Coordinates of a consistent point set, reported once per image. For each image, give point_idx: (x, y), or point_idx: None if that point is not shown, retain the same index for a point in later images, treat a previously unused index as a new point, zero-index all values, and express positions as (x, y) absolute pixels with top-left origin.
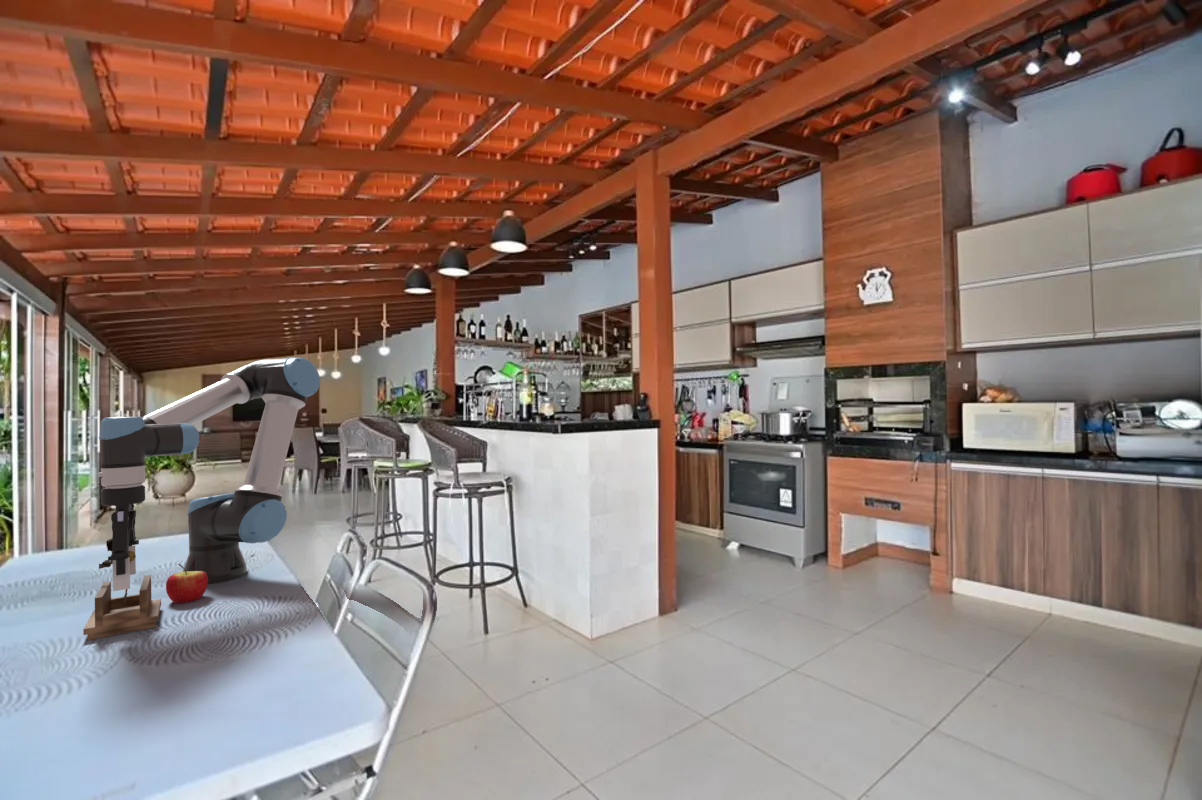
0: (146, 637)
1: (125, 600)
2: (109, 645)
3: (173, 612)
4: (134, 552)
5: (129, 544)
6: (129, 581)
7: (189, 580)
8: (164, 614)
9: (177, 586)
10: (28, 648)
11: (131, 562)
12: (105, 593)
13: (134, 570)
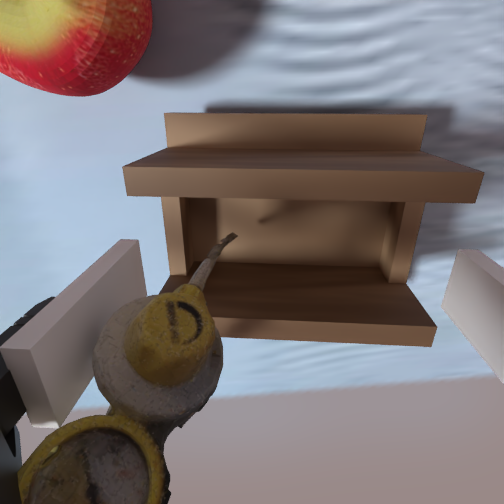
0: (465, 142)
1: (232, 233)
2: (447, 231)
3: (219, 68)
4: (143, 322)
5: (2, 394)
6: (500, 267)
7: None
8: (225, 99)
9: (134, 37)
10: (305, 368)
11: (109, 289)
12: (331, 316)
13: (129, 252)
